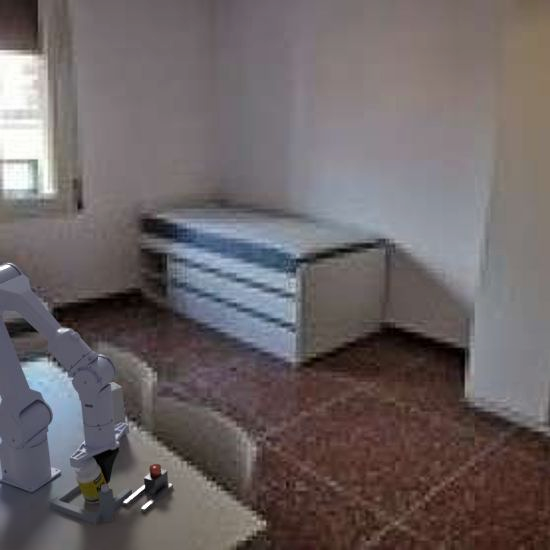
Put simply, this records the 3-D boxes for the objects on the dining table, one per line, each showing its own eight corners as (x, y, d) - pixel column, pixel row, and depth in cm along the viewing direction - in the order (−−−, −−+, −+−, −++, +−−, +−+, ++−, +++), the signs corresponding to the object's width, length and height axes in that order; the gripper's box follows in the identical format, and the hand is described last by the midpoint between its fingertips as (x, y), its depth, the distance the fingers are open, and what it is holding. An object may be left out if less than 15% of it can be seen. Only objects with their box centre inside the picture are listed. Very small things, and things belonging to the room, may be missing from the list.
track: (123, 505, 128) (123, 502, 127) (152, 481, 135) (152, 477, 135) (144, 513, 125) (144, 509, 125) (173, 487, 133) (172, 484, 133)
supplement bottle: (104, 504, 128) (92, 474, 123) (81, 504, 128) (68, 474, 124) (112, 484, 132) (100, 454, 127) (89, 484, 132) (77, 454, 128)
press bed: (49, 507, 127) (45, 474, 125) (87, 479, 136) (84, 448, 134) (103, 527, 121) (100, 493, 119) (139, 497, 130) (137, 465, 128)
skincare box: (117, 428, 156) (113, 380, 153) (127, 435, 153) (123, 386, 149) (93, 437, 152) (88, 388, 149) (103, 444, 149) (98, 395, 145)
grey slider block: (145, 493, 131) (143, 470, 130) (157, 482, 135) (156, 460, 133) (155, 497, 130) (154, 473, 129) (168, 486, 134) (166, 463, 132)
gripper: (87, 442, 120) (94, 507, 124) (139, 407, 132) (143, 468, 136) (58, 433, 123) (65, 497, 127) (111, 400, 135) (116, 459, 139)
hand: (104, 481), depth 132 cm, fingers closed
